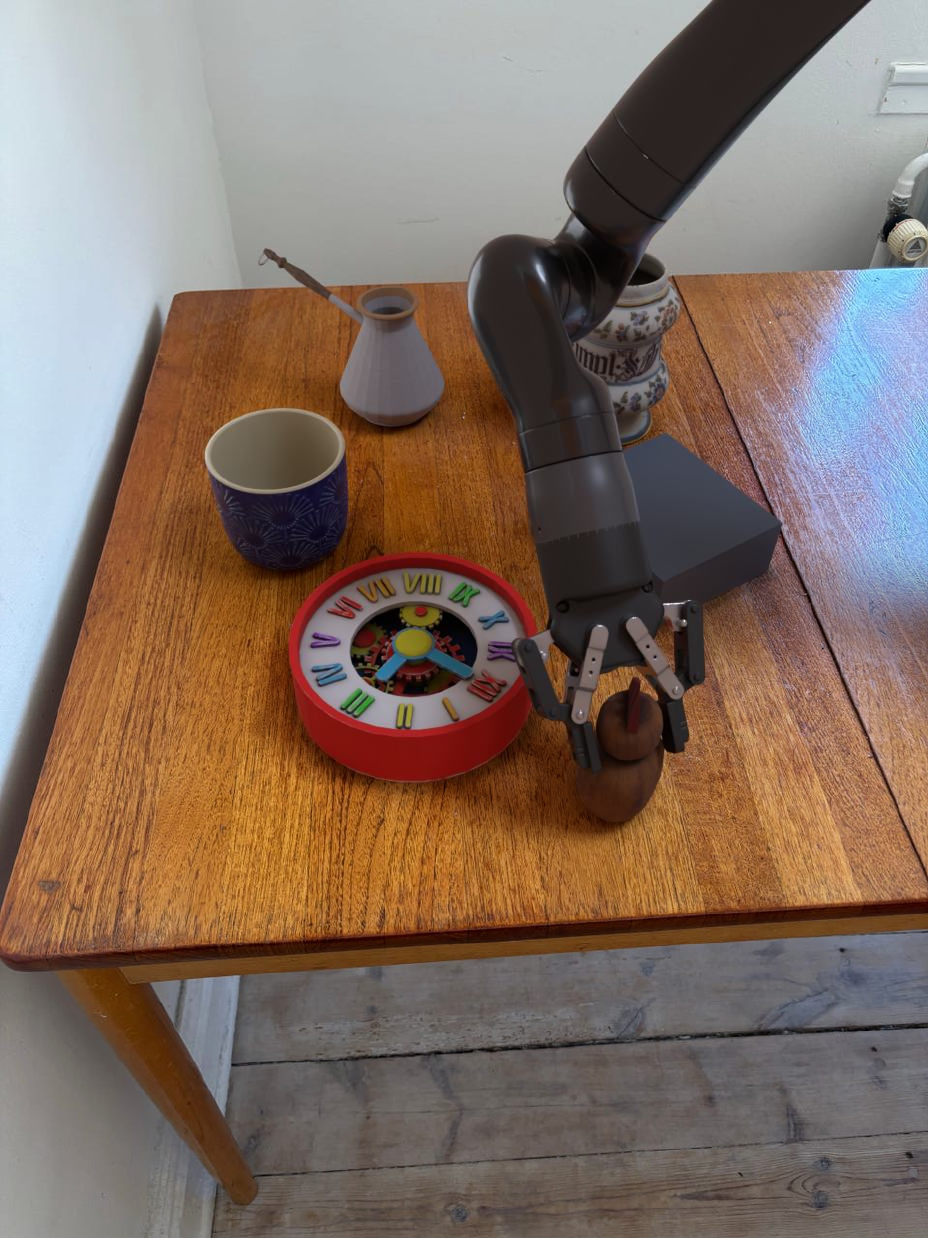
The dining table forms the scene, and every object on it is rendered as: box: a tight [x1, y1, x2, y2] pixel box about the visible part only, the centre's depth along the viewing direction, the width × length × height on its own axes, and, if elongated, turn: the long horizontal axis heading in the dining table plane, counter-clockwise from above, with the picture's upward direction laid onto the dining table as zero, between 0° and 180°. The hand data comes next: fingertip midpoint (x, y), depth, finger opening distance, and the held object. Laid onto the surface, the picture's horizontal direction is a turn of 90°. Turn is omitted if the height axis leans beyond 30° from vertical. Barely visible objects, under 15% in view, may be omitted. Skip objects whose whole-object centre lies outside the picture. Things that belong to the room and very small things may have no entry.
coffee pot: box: [257, 248, 446, 428], centre depth 109 cm, size 21×12×15 cm, turn 62°
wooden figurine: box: [575, 676, 666, 823], centre depth 72 cm, size 7×6×15 cm
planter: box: [204, 407, 349, 571], centre depth 94 cm, size 12×12×11 cm
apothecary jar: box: [572, 251, 681, 446], centre depth 105 cm, size 12×12×18 cm
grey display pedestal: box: [622, 432, 783, 627], centre depth 95 cm, size 14×16×6 cm
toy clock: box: [287, 551, 538, 783], centre depth 83 cm, size 20×6×20 cm
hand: (634, 761), depth 71 cm, fingers closed on wooden figurine, 5 cm apart
